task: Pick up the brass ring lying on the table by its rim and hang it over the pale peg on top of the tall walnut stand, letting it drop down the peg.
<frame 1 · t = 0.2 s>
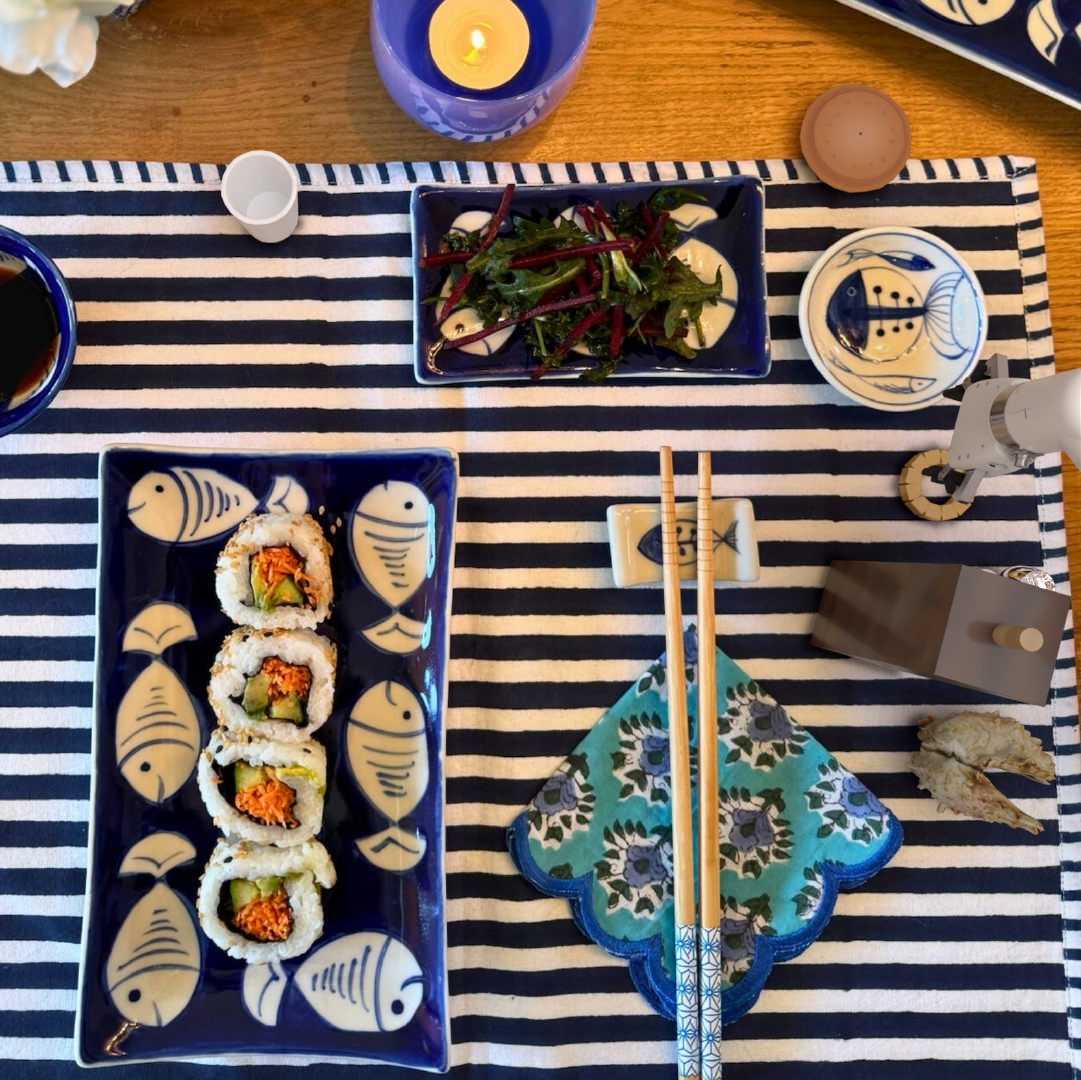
hand: (944, 436, 124), 22 cm above the table, tool pointing down, fingers open, 9 cm apart
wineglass: (984, 585, 144), on the table
seashell: (947, 754, 142), on the table
ring: (933, 485, 145), on the table
cup: (272, 218, 147), on the table
peg stand: (1003, 635, 110), on the table
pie: (844, 148, 149), on the table
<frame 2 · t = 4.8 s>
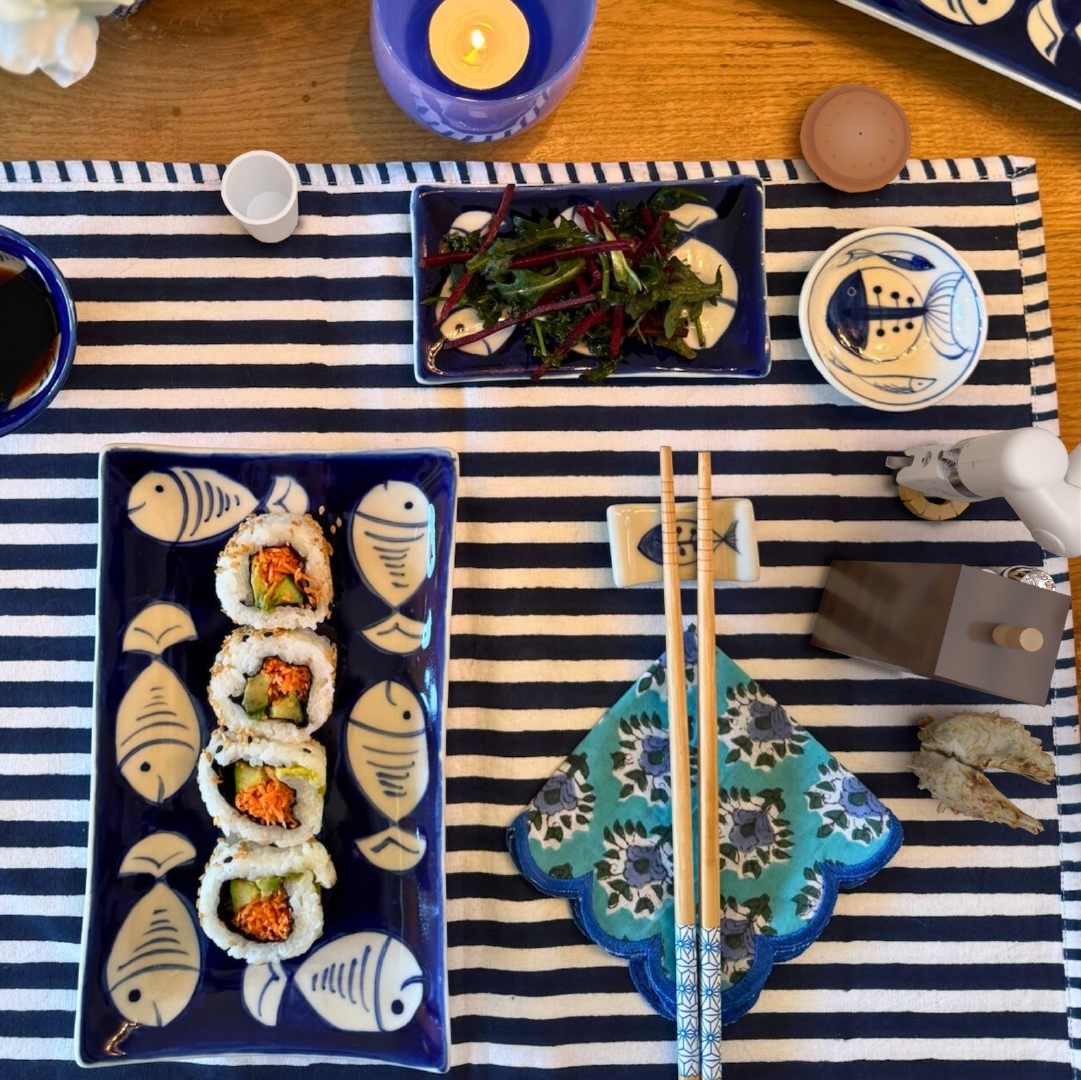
hand: (907, 477, 145), 0 cm above the table, tool pointing down, fingers closed on ring, 2 cm apart
ring: (932, 485, 145), on the table, touching gripper
everything else where it was.
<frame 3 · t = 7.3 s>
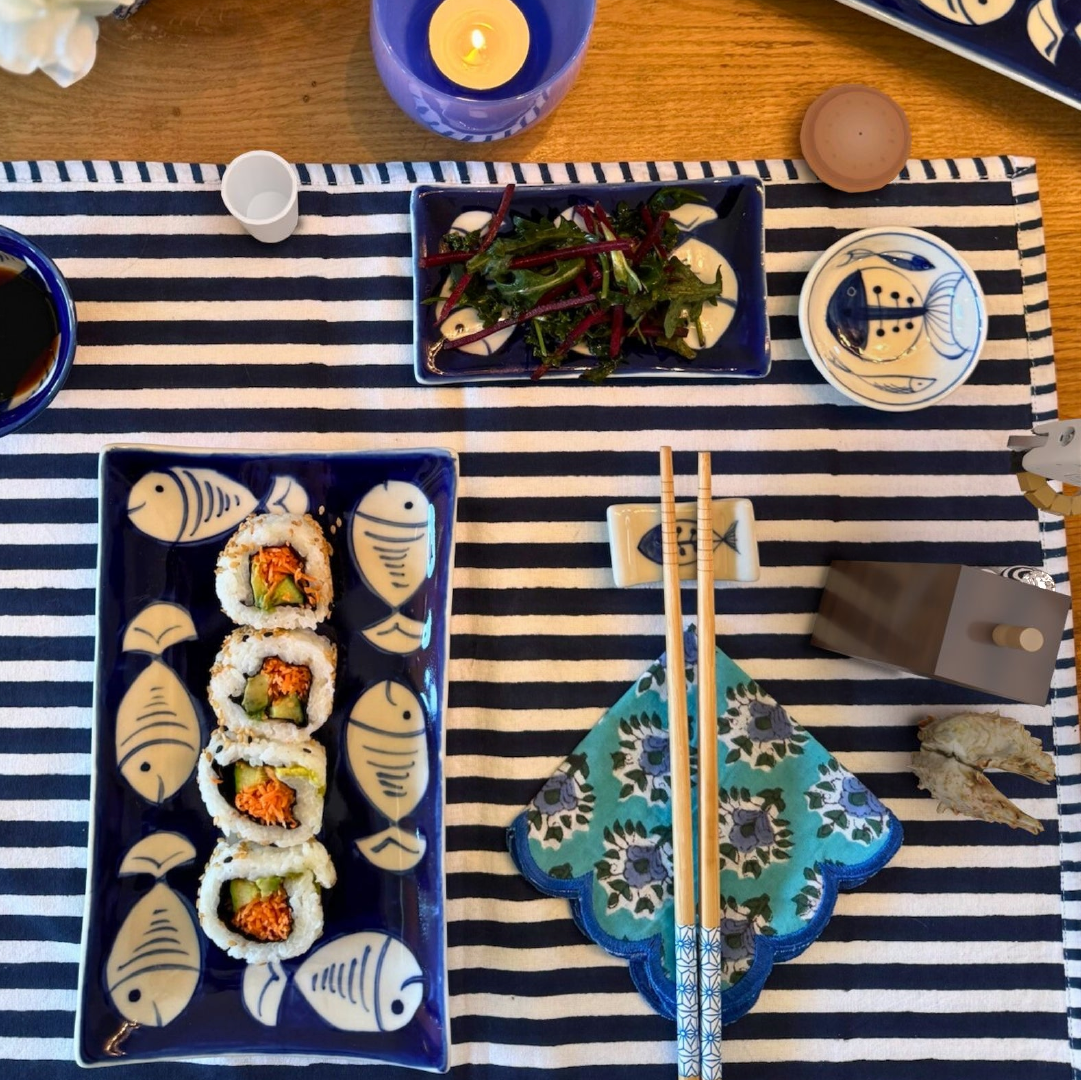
hand: (1029, 463, 117), 28 cm above the table, tool pointing down, fingers closed on ring, 2 cm apart
ring: (1059, 472, 117), point 28 cm above the table, touching gripper
everything else where it was.
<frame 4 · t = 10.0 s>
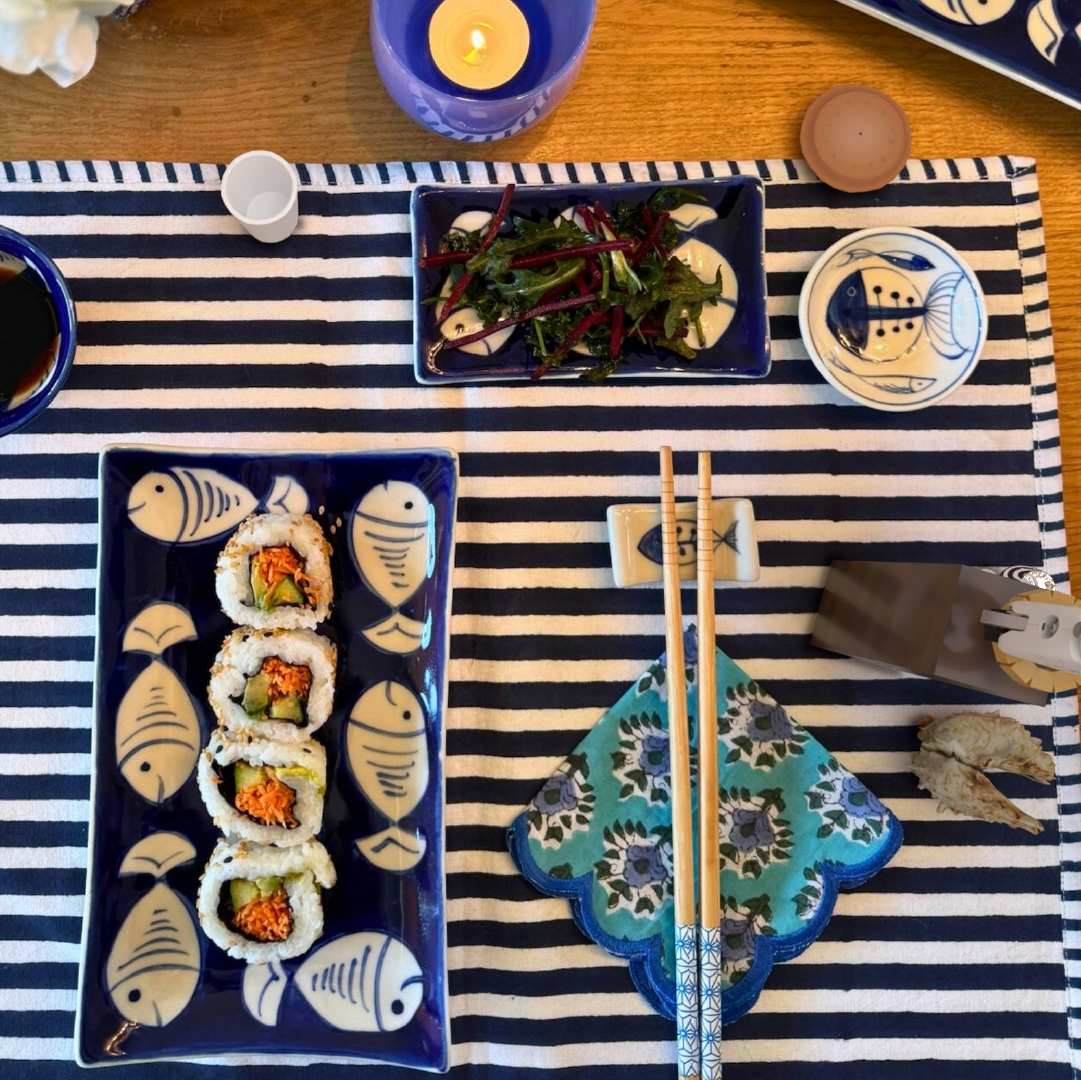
hand: (1006, 629, 102), 41 cm above the table, tool pointing down, fingers closed on ring, 2 cm apart
ring: (1040, 639, 103), point 41 cm above the table, touching gripper
everything else where it was.
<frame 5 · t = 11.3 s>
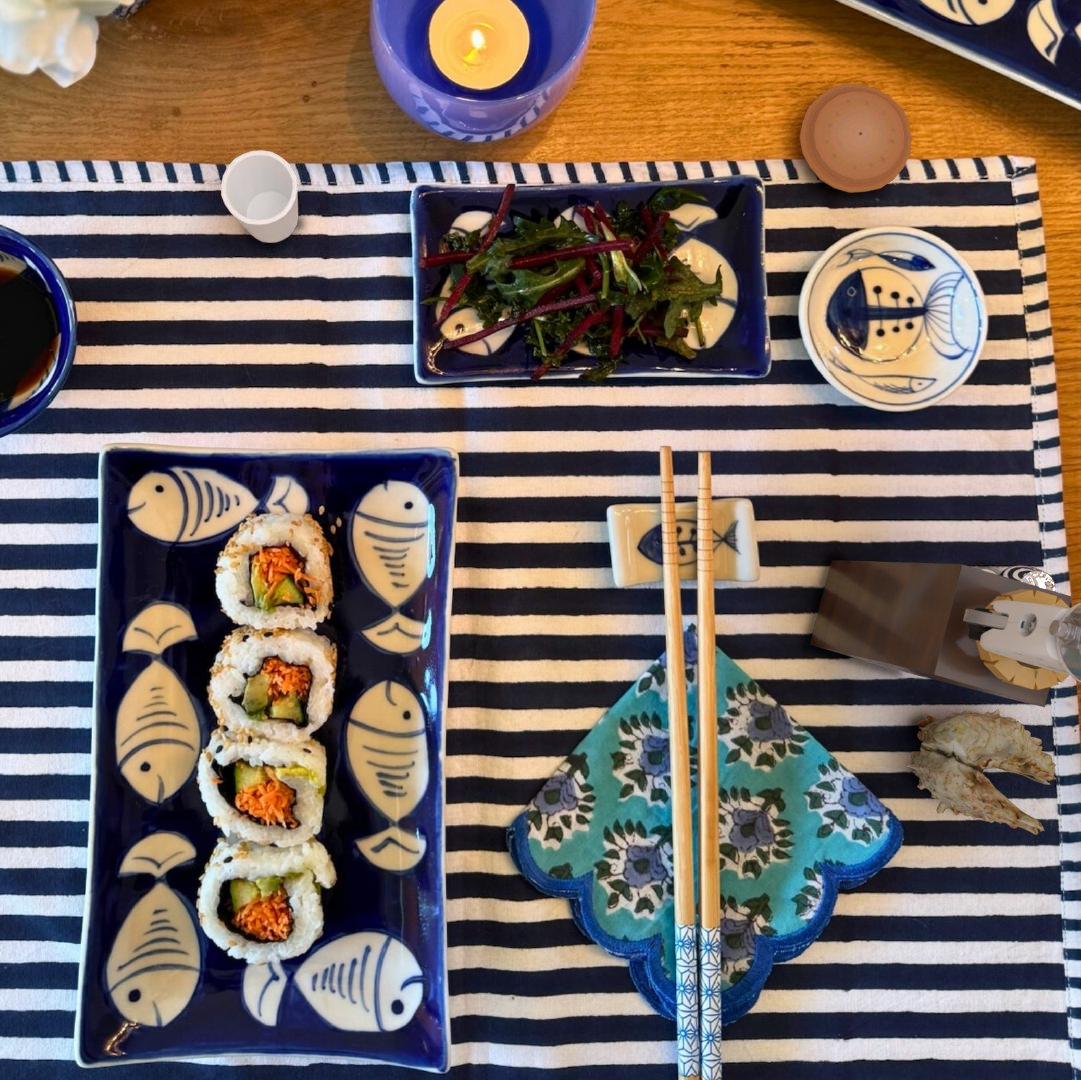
hand: (990, 628, 106), 38 cm above the table, tool pointing down, fingers closed on ring, 2 cm apart
ring: (1023, 638, 106), point 38 cm above the table, touching gripper
everything else where it was.
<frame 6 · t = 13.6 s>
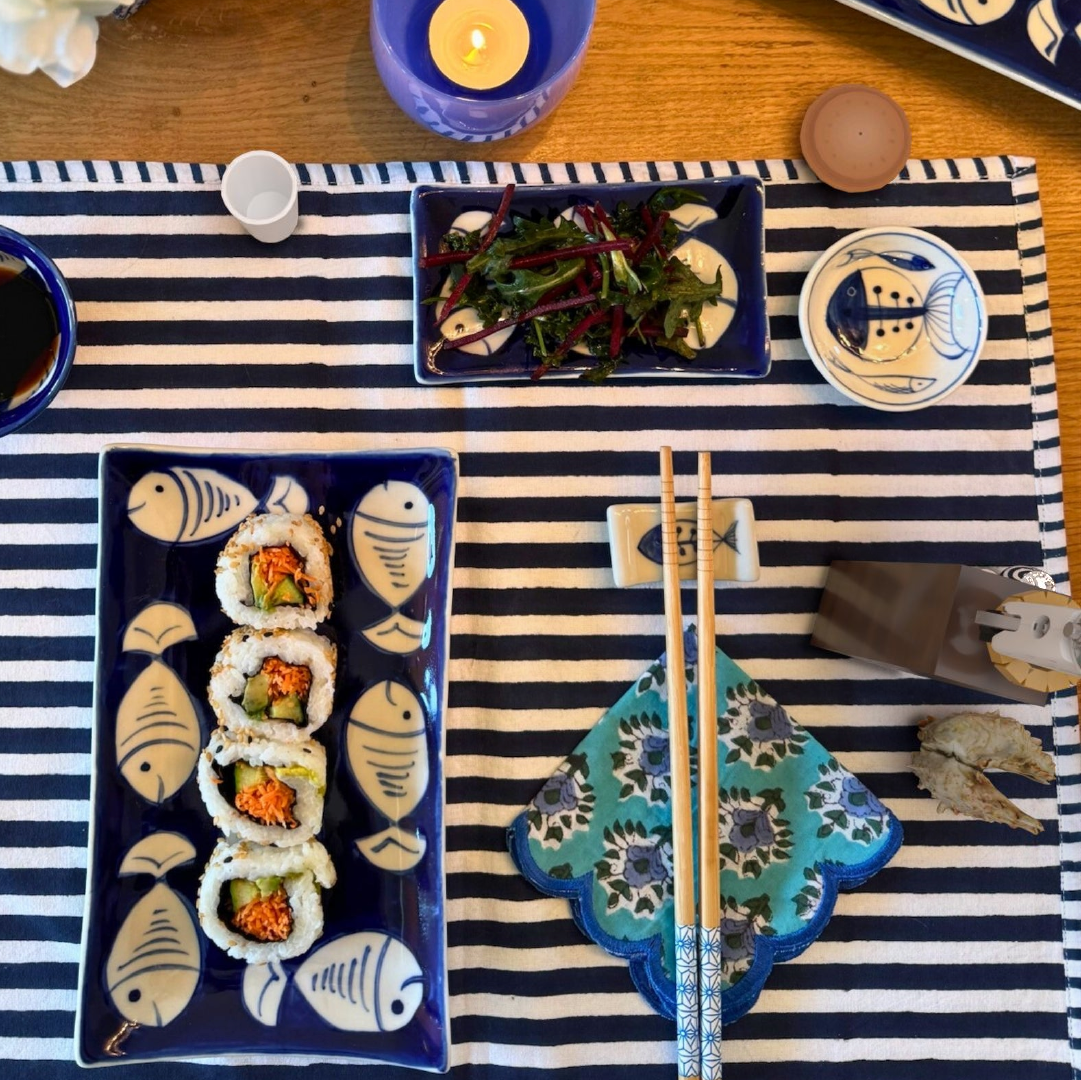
hand: (1000, 629, 104), 40 cm above the table, tool pointing down, fingers closed on ring
ring: (1034, 639, 104), point 40 cm above the table, touching gripper
everything else where it was.
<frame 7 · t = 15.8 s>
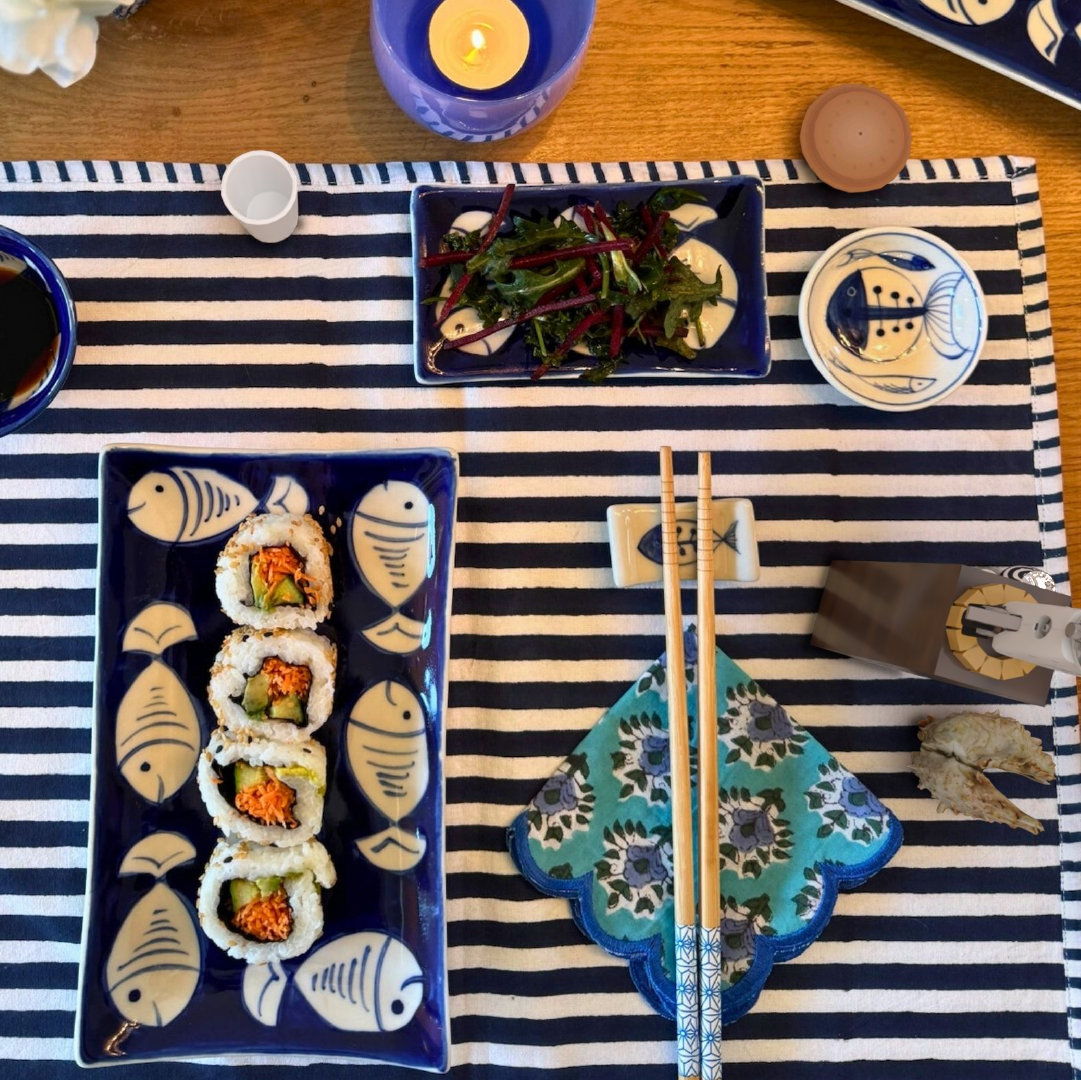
hand: (1004, 630, 103), 41 cm above the table, tool pointing down, fingers open, 6 cm apart
ring: (992, 630, 110), point 34 cm above the table, touching peg stand
everything else where it was.
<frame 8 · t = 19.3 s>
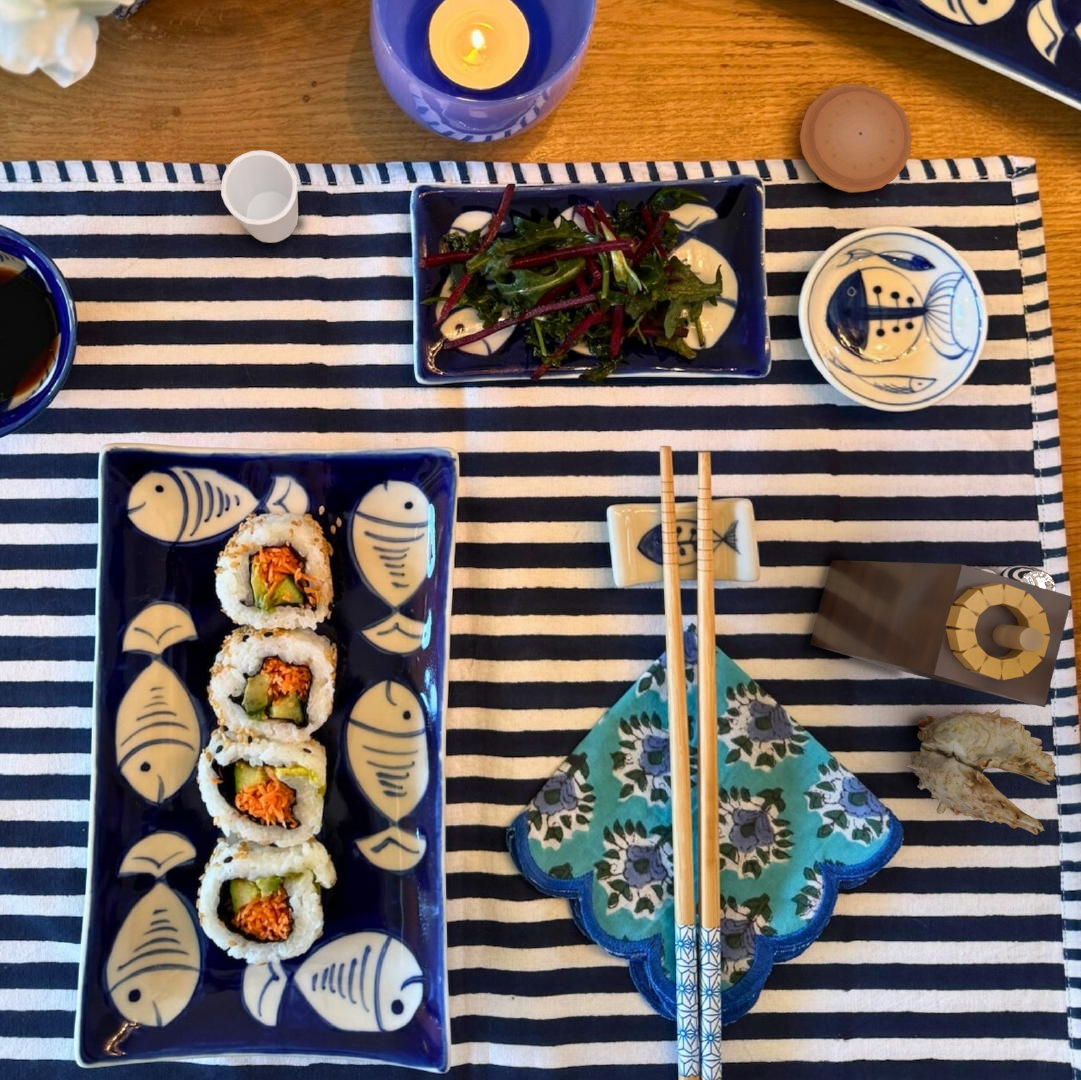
nothing on the table moved.
at the end: ring 1.3 cm off-centre on the peg stand, point 0.0 cm above the peg stand's base; the gripper is holding nothing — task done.
